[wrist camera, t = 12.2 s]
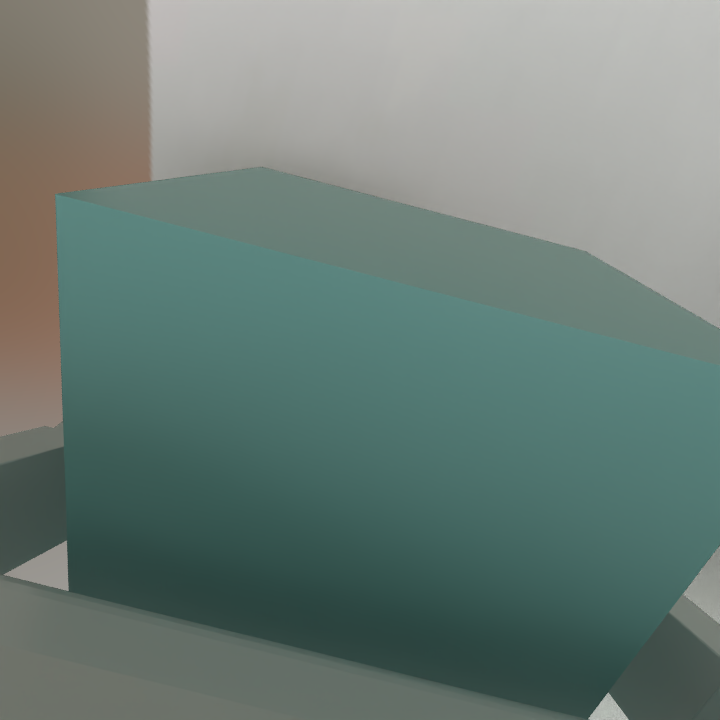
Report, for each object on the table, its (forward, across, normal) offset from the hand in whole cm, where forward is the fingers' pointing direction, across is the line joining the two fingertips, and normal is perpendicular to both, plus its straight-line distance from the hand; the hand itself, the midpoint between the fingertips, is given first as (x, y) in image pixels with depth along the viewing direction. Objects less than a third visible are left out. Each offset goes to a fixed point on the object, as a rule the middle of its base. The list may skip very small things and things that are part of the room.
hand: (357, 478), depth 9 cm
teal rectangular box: (+3, 0, 0) cm, 3 cm away
